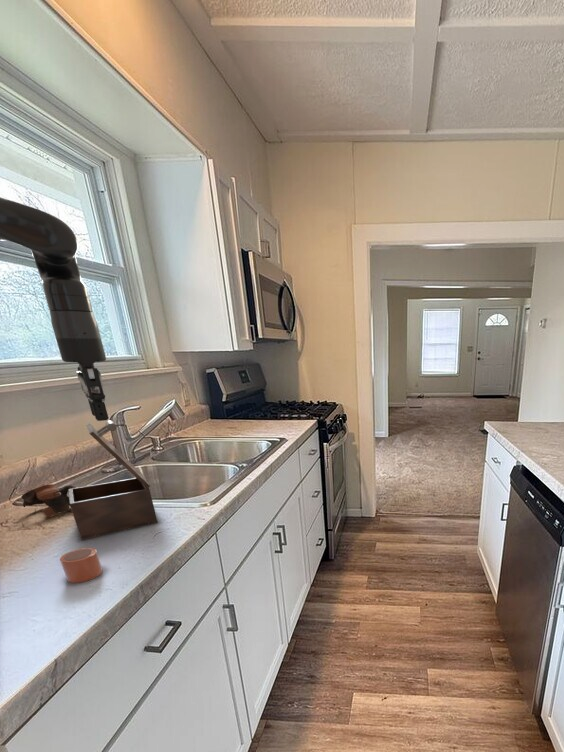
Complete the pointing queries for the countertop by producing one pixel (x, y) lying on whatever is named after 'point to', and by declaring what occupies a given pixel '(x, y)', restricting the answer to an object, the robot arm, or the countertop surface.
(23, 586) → the countertop surface
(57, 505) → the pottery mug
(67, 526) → the countertop surface
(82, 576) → the small terracotta bowl
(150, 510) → the chest
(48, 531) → the countertop surface
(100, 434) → the lid
